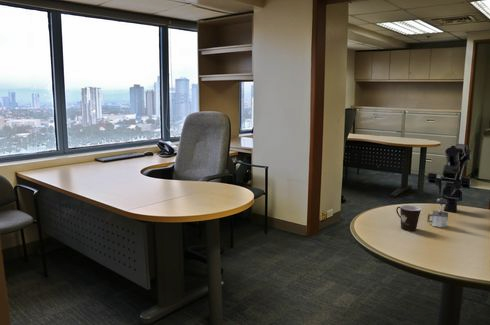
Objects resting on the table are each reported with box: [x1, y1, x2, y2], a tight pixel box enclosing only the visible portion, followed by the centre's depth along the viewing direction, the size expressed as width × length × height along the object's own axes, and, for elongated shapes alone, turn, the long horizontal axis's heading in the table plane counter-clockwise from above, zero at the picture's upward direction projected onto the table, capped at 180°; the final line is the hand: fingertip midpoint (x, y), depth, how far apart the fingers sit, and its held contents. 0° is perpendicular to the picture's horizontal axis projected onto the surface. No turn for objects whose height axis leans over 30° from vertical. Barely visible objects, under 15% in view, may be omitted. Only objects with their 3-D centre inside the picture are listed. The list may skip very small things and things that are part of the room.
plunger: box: [436, 197, 447, 214], centre depth 185 cm, size 5×5×8 cm
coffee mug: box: [395, 204, 422, 232], centre depth 182 cm, size 12×9×10 cm
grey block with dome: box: [426, 210, 449, 229], centre depth 187 cm, size 7×8×6 cm
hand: (445, 194), depth 190 cm, fingers open, 4 cm apart
